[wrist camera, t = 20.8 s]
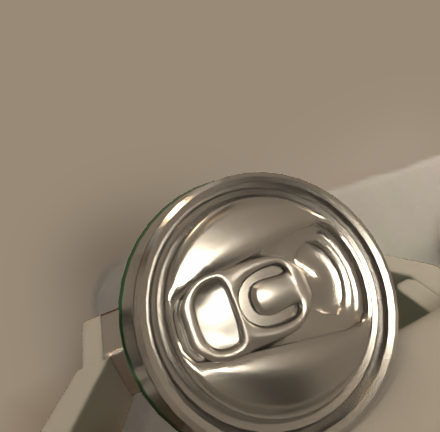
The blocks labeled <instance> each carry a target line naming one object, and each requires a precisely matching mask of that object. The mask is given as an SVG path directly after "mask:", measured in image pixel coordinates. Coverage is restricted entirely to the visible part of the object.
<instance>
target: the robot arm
mask: <svg viewBox="0 0 440 432" xmlns="http://www.w3.org/2000/svg"><path fill="white" fill-rule="evenodd" d="M384 258H385V260H386V263H387V265H388V268H389V270H390V273H391V276H392V280H393V284H394V288H395V291H396V297H397V306H398V314H399V317H398V340H397V347H396V353H395V358H394V361H393V364H392V368H391V371H390V374H389V377H388V379H387V381H386V383H385V385H384V387H383V389H382V391H381V393H380V395H379V397H378V399H377V400H376V402H375V403H374V404H373V406H372V407H371V408H370V410H369V411H368V413H367V414H366V415H365V416H364V417H363V418H362V419H361V420H360V421H359V422H358V423H357V424H356V425H355V426H354V427H353V428H352V429H351V430H350V431H349V432H440V268H438V267H436V266H435V265H431V264H427V263H422V262H417V261H412V260H407V259H402V258H397V257H392V256H387V255H384ZM139 392H141V390H140V388H139V387H138V385H137V383H136V381H135V379H134V377H133V376H132V374H131V371H130V368H129V366H128V363H127V360H126V357H125V354H124V351H123V347H122V341H121V335H120V330H119V308H117V309H115V310H112V311H109V312H107V313H104V314H101V315H100V316H97V317H94V318H92V319H89V320H87V321H84V323H83V325H82V369H81V370H79V371H77V372H76V374H75V375H74V377H73V378H72V380H71V382H70V383H69V385H68V387H67V388H66V390H65V391H64V393H63V395H62V397H61V398H60V400H59V401H58V403H57V405H56V407H55V408H54V410H53V411H52V413H51V415H50V416H49V418H48V420H47V421H46V423H45V425H44V426H43V428H42V430H41V431H40V432H122V429H123V426H124V423H125V420H126V417H127V414H128V411H129V408H130V405H131V402H132V399H133V397H132V396H133V395H135V394H137V393H139Z"/></svg>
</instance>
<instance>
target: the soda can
mask: <svg viewBox="0 0 440 432" xmlns="http://www.w3.org/2000/svg"><path fill="white" fill-rule="evenodd" d="M398 317H399V314H398V306H397V297H396V291H395V288H394V284H393V280H392V276H391V273H390V270H389V268H388V265H387V263H386V260H385V258H384V255H383V253H382V251H381V250H380V248H379V246H378V244H377V243H376V241H375V239H374V237H373V236H372V235H371V233H370V232H369V231H368V229H367V228H366V227H365V225H364V224H363V223H362V221H361V220H360V219H359V218H358V217H357V216H356V215H355V214H354V213H353V212H352V211H351V210H350V209H349V208H348V207H347V206H346V205H344V204H343V203H342V202H341V201H339V200H338V199H337V198H335V197H334V196H333V195H331V194H329V193H328V192H326V191H324V190H323V189H321V188H319V187H318V186H316V185H313V184H311V183H308V182H306V181H304V180H301V179H298V178H294V177H290V176H286V175H283V174H275V173H265V172H260V173H243V174H238V175H233V176H228V177H225V178H222V179H219V180H216V181H212V182H209V183H206V184H203V185H201V186H198V187H195V188H193V189H191V190H189V191H188V192H186V193H184V194H182V195H180V196H178V197H177V198H176V199H174V200H173V201H172V202H171V203H169V204H168V205H167V206H165V207H164V208H163V209H162V210H161V211H160V212H159V213H158V214H157V215H156V216H155V217H154V218H153V219H152V220H151V222H149V224H148V225H147V227H146V228H145V230H144V231H143V232H142V234H141V235H140V237H139V238H138V240H137V242H136V244H135V246H134V248H133V250H132V252H131V254H130V256H129V258H128V261H127V264H126V268H125V271H124V274H123V278H122V282H121V289H120V296H119V330H120V335H121V341H122V347H123V351H124V354H125V357H126V360H127V363H128V366H129V368H130V371H131V374H132V376H133V377H134V379H135V381H136V383H137V385H138V387H139V388H140V390H141V392H142V394H143V395H144V397H145V398H146V399H147V400H148V402H149V403H150V404H151V406H152V407H153V408H154V409H155V411H156V412H157V413H158V414H159V415H160V416H161V417H162V418H163V419H164V420H165V421H167V422H168V423H169V424H170V425H171V426H172V427H173V428H174V429H175V430H177V431H178V432H349V431H350V430H351V429H352V428H353V427H354V426H355V425H356V424H357V423H358V422H359V421H360V420H361V419H362V418H363V417H364V416H365V415H366V414H367V413H368V411H369V410H370V408H371V407H372V406H373V404H374V403H375V402H376V400H377V399H378V397H379V395H380V393H381V391H382V389H383V387H384V385H385V383H386V381H387V379H388V377H389V374H390V371H391V368H392V364H393V361H394V358H395V353H396V347H397V340H398Z"/></svg>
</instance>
